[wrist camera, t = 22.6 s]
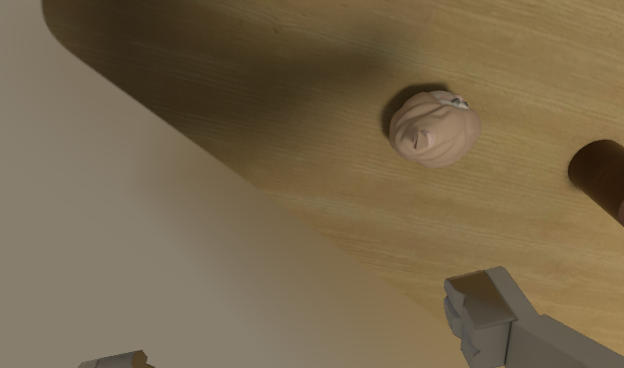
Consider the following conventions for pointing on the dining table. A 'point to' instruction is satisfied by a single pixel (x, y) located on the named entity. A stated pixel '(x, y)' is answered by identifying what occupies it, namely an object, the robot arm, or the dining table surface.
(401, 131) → the garlic bulb
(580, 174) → the brown cylinder
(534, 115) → the dining table surface
